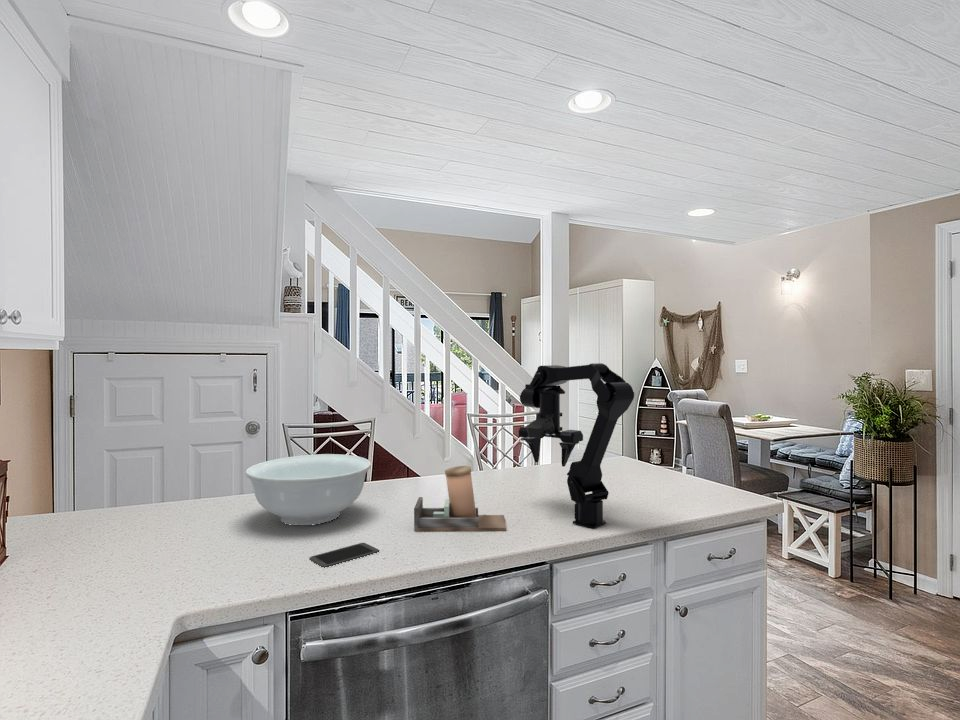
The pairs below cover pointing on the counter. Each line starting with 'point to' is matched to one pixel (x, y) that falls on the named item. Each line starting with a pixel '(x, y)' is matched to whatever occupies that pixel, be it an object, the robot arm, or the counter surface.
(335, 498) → the bowl
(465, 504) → the jar
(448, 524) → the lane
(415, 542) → the counter surface
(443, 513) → the block
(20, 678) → the counter surface
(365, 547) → the cell phone
